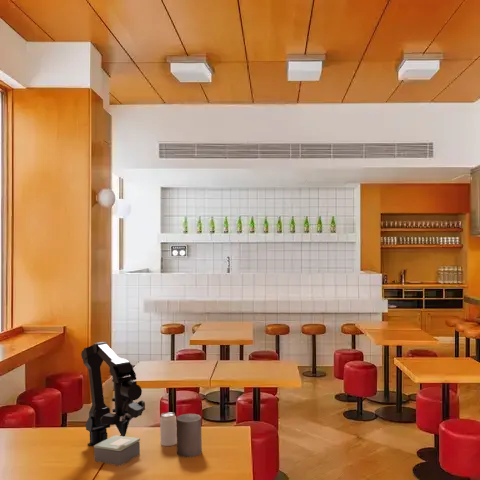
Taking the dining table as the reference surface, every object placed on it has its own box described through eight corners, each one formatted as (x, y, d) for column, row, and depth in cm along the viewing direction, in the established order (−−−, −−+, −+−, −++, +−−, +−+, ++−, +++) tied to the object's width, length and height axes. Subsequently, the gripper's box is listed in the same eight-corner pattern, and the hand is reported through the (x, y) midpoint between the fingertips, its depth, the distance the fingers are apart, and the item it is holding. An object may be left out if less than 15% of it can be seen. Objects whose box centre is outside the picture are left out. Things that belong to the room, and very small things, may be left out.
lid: (94, 447, 216) (93, 445, 216) (114, 437, 227) (114, 434, 227) (119, 451, 211) (119, 448, 211) (140, 440, 222) (139, 438, 222)
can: (174, 447, 229) (173, 417, 229) (158, 446, 230) (157, 416, 230) (178, 441, 235) (178, 412, 235) (163, 440, 236) (163, 411, 236)
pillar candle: (171, 453, 222) (170, 414, 222) (190, 446, 229) (189, 408, 229) (188, 459, 215) (187, 420, 215) (207, 452, 222) (206, 413, 222)
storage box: (94, 461, 216) (94, 447, 216) (115, 450, 227) (114, 437, 227) (120, 465, 211) (119, 452, 211) (139, 454, 222) (139, 441, 222)
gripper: (123, 403, 206) (124, 447, 206) (154, 390, 222) (155, 431, 222) (99, 400, 211) (100, 443, 211) (130, 388, 227) (132, 427, 227)
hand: (123, 436), depth 218 cm, fingers closed
